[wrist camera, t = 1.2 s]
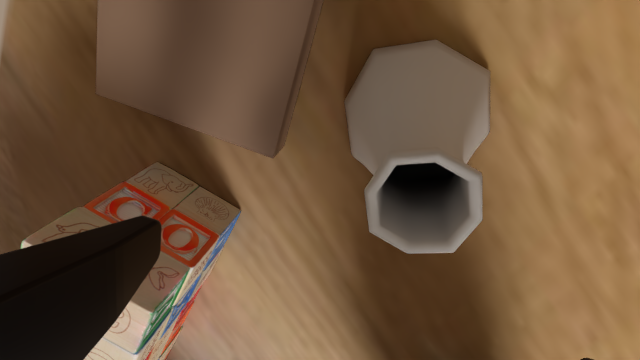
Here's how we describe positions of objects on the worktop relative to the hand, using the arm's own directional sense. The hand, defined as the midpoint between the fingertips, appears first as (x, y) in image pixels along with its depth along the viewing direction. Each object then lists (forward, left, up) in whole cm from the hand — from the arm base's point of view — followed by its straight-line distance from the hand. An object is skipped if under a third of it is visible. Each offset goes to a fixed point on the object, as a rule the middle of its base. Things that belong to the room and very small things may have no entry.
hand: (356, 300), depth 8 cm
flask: (-1, -1, -13) cm, 13 cm away
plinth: (+10, -2, -13) cm, 17 cm away
